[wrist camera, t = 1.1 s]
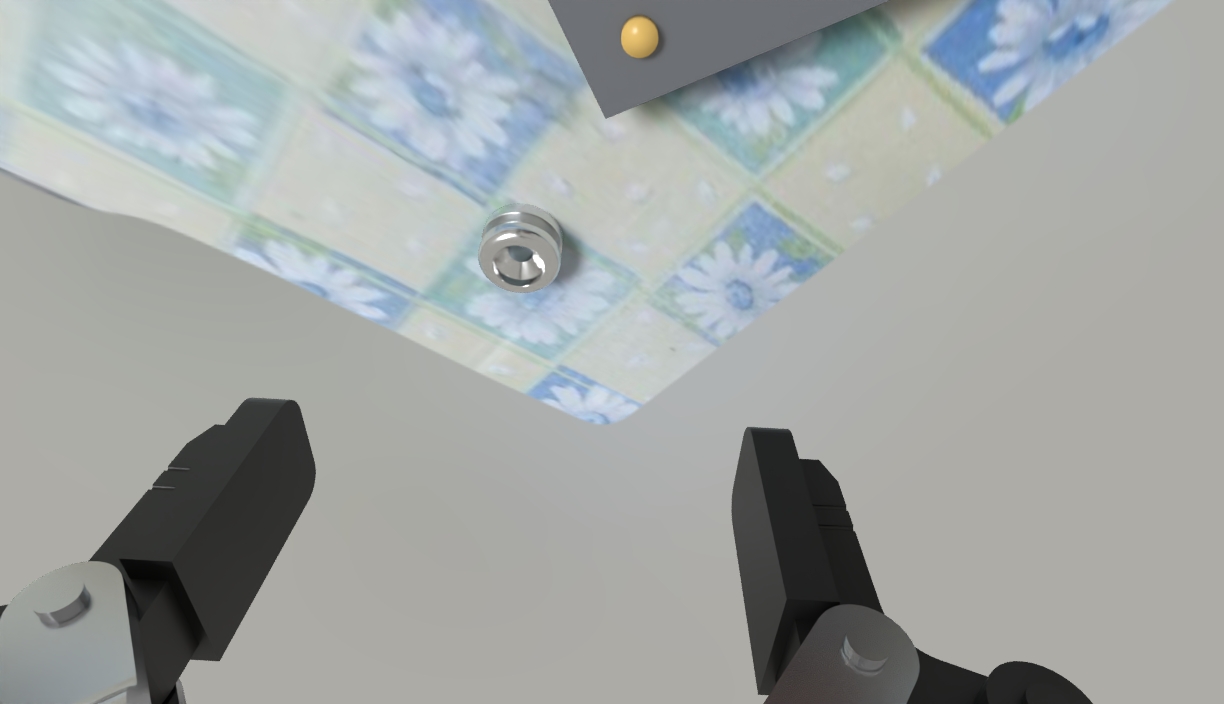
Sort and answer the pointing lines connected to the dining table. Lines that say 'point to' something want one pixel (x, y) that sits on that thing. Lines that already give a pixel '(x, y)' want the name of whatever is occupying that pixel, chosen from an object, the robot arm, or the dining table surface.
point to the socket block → (681, 39)
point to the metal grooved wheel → (521, 248)
